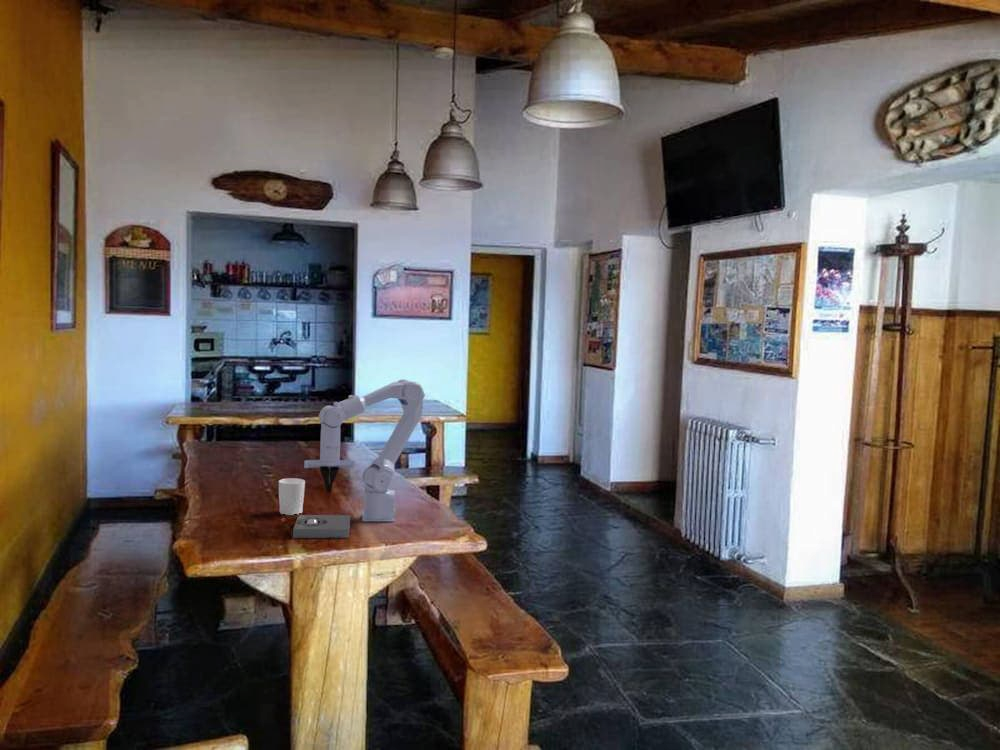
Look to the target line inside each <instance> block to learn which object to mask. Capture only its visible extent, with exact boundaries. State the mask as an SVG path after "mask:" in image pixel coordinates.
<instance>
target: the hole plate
mask: <svg viewBox="0 0 1000 750" xmlns="http://www.w3.org/2000/svg"><path fill="white" fill-rule="evenodd" d="M309 519H316V520H317V521H318V524H306V523H307V521H308V520H309ZM350 527H351V515H350V514H340V515H339V514H334V515H333V514H298V516H297V519H296V522H295V523H294V526H293V529H292V539H349V535H350V530H351V529H350ZM330 537H331V538H330ZM333 537H334V538H333ZM338 537H339V538H338Z"/></svg>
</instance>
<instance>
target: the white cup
mask: <svg viewBox="0 0 1000 750" xmlns="http://www.w3.org/2000/svg"><path fill="white" fill-rule="evenodd" d="M305 485H306V480H305V479H302V478H297V477H296V478H295V477H291V478H288V477H287V478H283V479H280V480H278V499H279V500H278V502H279V503H278V504H279V513H280V515H283V514H285V515H284V516H295V515H294V514H297V515H300V514H299V513H301V514H302V513H303V506H304V498H305Z"/></svg>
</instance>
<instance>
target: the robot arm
mask: <svg viewBox="0 0 1000 750" xmlns="http://www.w3.org/2000/svg"><path fill="white" fill-rule="evenodd" d="M422 386H423V385H421V384H420V383H419V382H416V381H410V380H408V379H400V380H397V381H392V382H391V383H388V384H386V385H384V386H382V387H380V388H378V389H376V390H373V391H372V392H370V393H368V394H365V395H363V396H359V395H356V394H355V395H353V394H350V395H348V398H346V399H344V400H342V401H341V400H340V401H339V402H338V401H334V402H333V405H325V406H324V407H322V409H321V410H320V412H319V414H318V416H317V417H318V419H319V421H320V422H321V423H320V426H321V427H320V443H319V444H320V447H319V450H320V451H319V454H320V455H319V459H314V460H312V459H310V460H308V459H307V460H304V462H303V463H304V465H303V468H304V469H309V468H314V469H317V468H318V469H320V470H319V472H320V474H321V477H322V479H323V482H324V486H325V492H326V493H329V494H330V493H332V491H333V490H332V489H333V484H334V481H335V479H336V477H337V475H338V473H339V469H352V470H353V469H355V467H356V465H355V464H356V461H354V460H343V459H342V460H341V425H342V424H343V422H344V421H345V422H346V421H347V420H350V419H352V418H354V417H357V416H359V415H361V414H364V412H365V411H366V409H367V407H370V406H373V405H375V404H378V403H380V402H383V401H385V400H389V399H397V400H398V401H399V403H400V405H401V407H402V410H403V414H401V417H400V419H399V421H398V422H397V423H396V426H395V428H394V429H393V431H392V432H391V435H390V437H389V439H387V442H386V443H385V445H384V447H383V449H382V451H381V452H380V454H379V456H378V457H376V458H375V459H373V461H372V462H371V463H370V465H369V466H368V467H366V468H365V469H364V471H363V472H362V481H363V482H364V484H365V486H364V499H363V500H364V503H363V506H364V507H363V513H362V517H361V519H362V522H394V521H395V515H396V508H395V499H396V498H395V497H396V493H395V491H396V490H393V489H392V490H391V489H389V488H390V487H391V485H392V482H393V481H392V480H393V479H392V478H393V476H394V474H395V464H396V462H397V460H398V459H399V457H400V456H401V453H402V452H403V450H404V448H405V446H406V444H407V443H408V441H409V439H410V437H411V436H412V434H413V432H414V430H415V428H416V427H417V425H418V423H419V421H420V419H421V418H422V416H423V411H424V410H423V408H424V407H423V406H424V399H425V397H426V395H425V394H426V393H425V392H424V389H423V387H422Z"/></svg>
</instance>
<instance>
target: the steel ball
mask: <svg viewBox="0 0 1000 750" xmlns="http://www.w3.org/2000/svg"><path fill="white" fill-rule="evenodd" d="M306 524H318V521H317V520H316V519H309V520H308V521H307V523H306Z"/></svg>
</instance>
